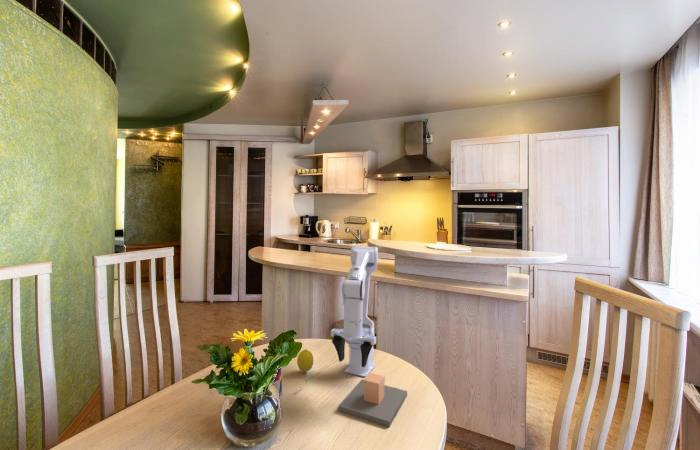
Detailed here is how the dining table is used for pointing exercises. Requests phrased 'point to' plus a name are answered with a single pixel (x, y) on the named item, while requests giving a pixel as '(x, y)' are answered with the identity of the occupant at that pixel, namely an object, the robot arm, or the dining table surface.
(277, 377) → the energy drink
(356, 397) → the shelf board
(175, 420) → the dining table surface
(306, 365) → the lemon
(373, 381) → the terracotta block
